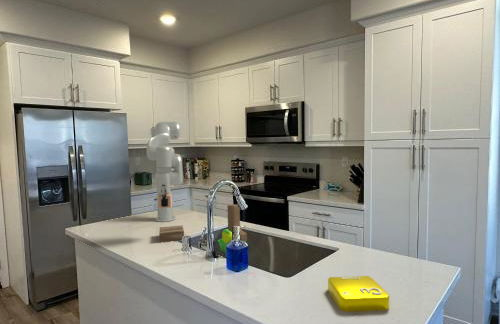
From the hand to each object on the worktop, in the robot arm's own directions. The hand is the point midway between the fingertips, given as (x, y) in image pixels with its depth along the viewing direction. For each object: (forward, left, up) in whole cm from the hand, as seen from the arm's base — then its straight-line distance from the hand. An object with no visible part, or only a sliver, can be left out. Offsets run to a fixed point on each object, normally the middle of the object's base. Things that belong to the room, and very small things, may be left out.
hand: (165, 204), depth 165 cm
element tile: (+78, +65, -18) cm, 103 cm away
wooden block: (+13, +36, -18) cm, 42 cm away
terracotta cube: (0, 0, -1) cm, 1 cm away
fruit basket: (+28, +31, -18) cm, 45 cm away
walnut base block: (0, +3, -18) cm, 18 cm away
